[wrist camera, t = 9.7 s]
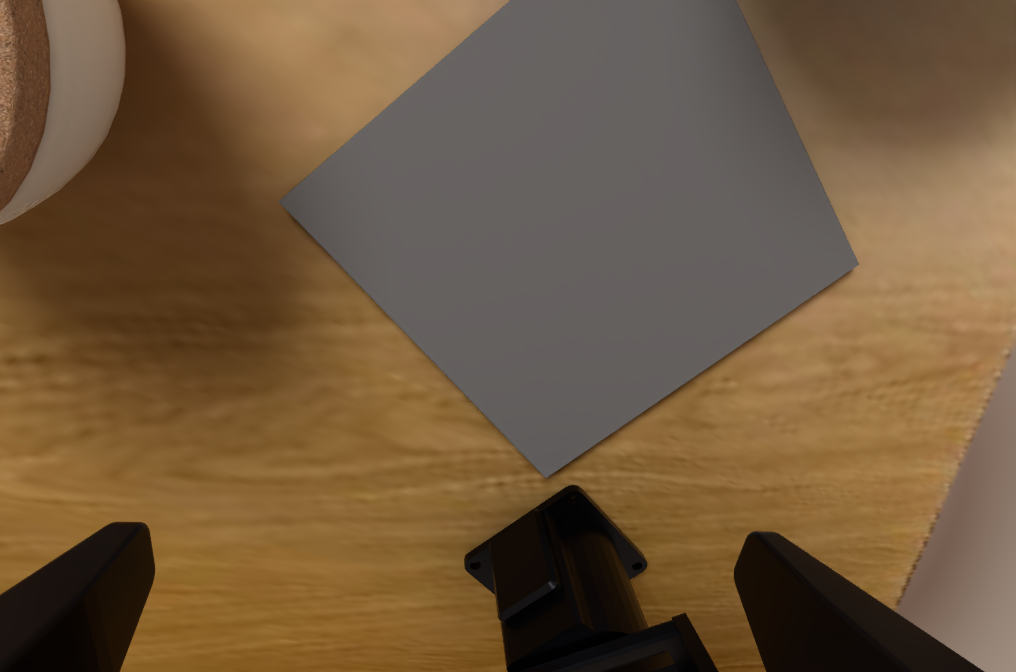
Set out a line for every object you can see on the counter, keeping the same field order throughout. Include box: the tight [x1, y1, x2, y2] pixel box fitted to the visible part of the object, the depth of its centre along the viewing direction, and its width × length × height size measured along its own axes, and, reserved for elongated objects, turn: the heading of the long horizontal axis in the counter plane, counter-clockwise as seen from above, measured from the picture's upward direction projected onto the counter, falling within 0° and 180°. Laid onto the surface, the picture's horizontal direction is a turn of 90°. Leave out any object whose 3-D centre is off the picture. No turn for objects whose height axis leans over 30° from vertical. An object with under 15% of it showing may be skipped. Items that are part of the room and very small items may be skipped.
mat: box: [278, 0, 859, 478], centre depth 20 cm, size 15×15×1 cm
